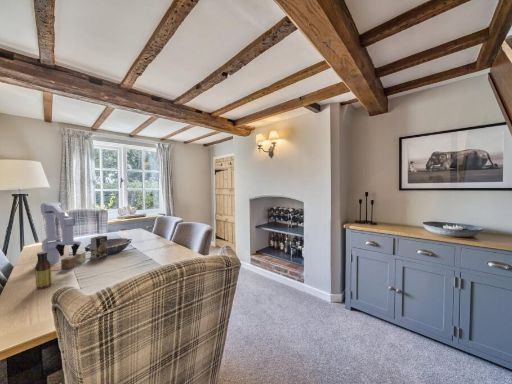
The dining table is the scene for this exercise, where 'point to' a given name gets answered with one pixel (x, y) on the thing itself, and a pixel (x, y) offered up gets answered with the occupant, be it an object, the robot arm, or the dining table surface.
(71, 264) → the walnut block
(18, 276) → the dining table surface
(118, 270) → the dining table surface
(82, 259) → the birch block
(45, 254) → the sauce bottle
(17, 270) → the dining table surface
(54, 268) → the terracotta pad
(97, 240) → the coffee box
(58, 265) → the board
